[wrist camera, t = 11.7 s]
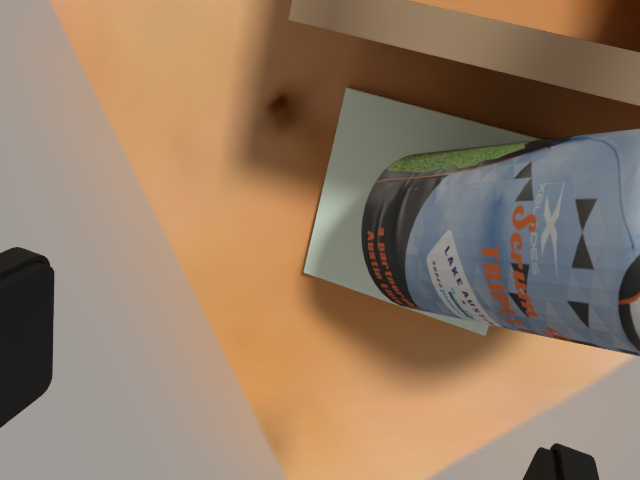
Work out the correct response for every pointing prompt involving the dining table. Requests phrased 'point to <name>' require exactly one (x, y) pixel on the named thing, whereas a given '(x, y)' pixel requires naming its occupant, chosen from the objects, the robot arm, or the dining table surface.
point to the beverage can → (516, 236)
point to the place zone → (365, 168)
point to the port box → (482, 43)
